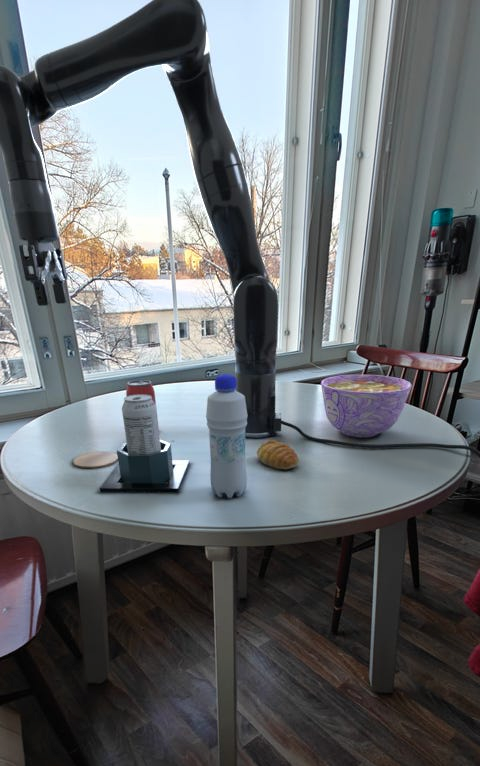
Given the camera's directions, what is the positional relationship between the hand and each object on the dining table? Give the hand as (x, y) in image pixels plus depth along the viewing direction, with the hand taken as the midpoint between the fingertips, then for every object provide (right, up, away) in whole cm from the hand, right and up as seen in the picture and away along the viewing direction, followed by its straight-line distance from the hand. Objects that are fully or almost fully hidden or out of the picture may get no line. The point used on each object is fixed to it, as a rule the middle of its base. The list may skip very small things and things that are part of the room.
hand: (53, 304), depth 96 cm
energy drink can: (+22, -38, -10) cm, 45 cm away
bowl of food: (+68, -25, +13) cm, 74 cm away
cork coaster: (+9, -33, -1) cm, 35 cm away
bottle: (+38, -41, -16) cm, 58 cm away
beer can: (+16, -24, +15) cm, 33 cm away
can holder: (+22, -38, -10) cm, 45 cm away
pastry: (+47, -34, -4) cm, 59 cm away
